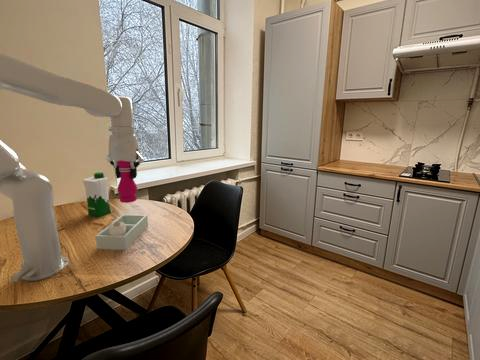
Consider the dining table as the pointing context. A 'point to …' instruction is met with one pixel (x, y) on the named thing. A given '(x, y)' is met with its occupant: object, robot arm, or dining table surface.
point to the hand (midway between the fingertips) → (126, 177)
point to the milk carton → (97, 195)
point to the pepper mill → (126, 183)
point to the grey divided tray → (133, 230)
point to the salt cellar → (117, 229)
